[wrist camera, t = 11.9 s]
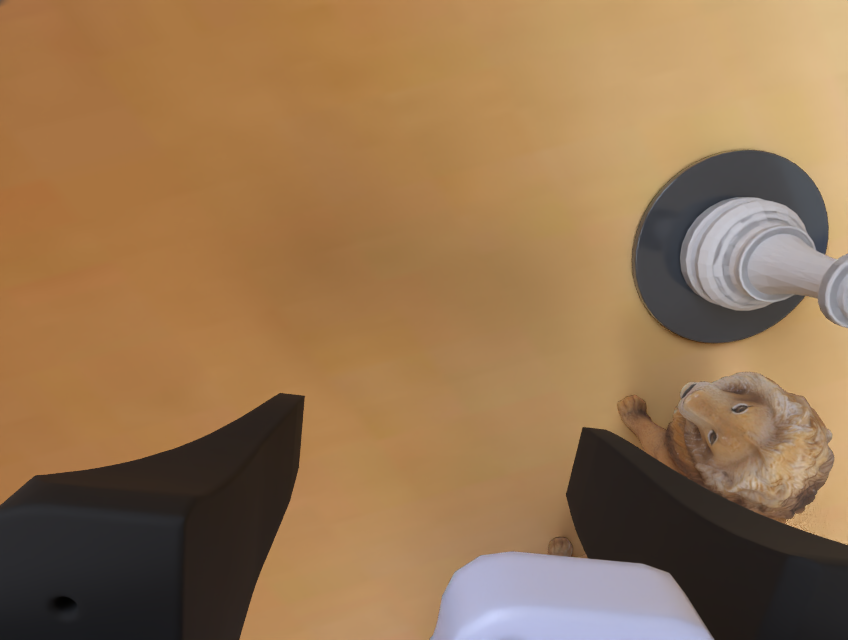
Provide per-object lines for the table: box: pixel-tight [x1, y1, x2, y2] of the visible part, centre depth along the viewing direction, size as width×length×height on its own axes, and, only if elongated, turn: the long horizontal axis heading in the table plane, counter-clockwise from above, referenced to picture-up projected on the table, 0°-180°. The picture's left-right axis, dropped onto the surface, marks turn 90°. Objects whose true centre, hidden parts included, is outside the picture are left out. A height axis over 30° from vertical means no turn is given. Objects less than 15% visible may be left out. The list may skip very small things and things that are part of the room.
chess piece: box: [680, 197, 848, 328], centre depth 17 cm, size 4×4×10 cm
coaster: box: [632, 150, 829, 343], centre depth 22 cm, size 8×8×1 cm
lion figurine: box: [548, 372, 834, 558], centre depth 21 cm, size 15×5×9 cm, turn 168°
